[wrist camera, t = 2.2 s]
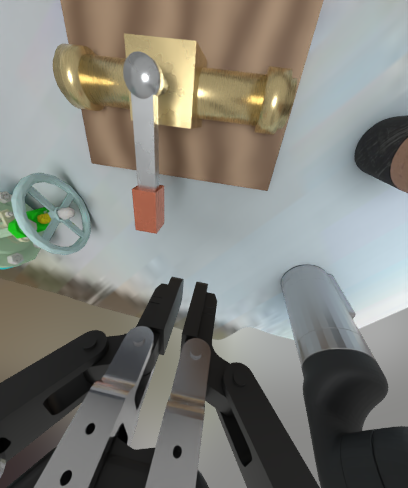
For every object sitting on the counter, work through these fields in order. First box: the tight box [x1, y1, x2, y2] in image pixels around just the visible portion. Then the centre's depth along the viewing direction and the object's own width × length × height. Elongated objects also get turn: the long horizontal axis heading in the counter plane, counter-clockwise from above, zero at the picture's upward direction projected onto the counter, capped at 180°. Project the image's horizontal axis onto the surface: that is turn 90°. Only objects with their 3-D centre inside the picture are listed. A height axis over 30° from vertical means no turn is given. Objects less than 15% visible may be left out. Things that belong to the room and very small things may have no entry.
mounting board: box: [60, 0, 323, 191], centre depth 27 cm, size 30×22×2 cm
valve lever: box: [123, 51, 164, 234], centre depth 20 cm, size 3×16×3 cm, turn 173°
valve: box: [0, 173, 91, 269], centre depth 36 cm, size 14×18×30 cm
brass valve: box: [53, 33, 297, 135], centre depth 22 cm, size 28×7×11 cm, turn 83°
